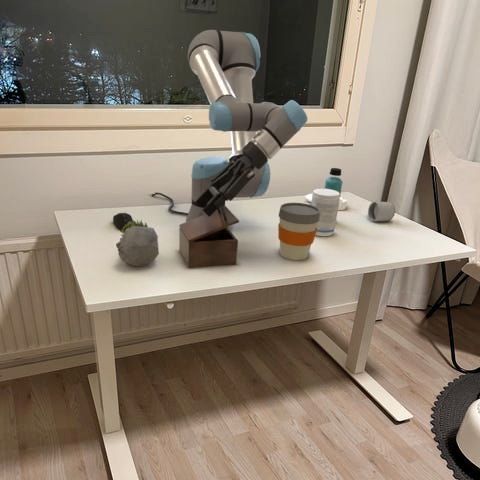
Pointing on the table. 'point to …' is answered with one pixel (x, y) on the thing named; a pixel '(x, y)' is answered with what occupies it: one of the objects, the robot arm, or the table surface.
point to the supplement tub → (326, 210)
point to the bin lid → (209, 222)
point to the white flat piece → (341, 203)
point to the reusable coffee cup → (297, 229)
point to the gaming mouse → (121, 220)
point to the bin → (209, 249)
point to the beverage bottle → (334, 180)
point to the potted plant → (138, 244)
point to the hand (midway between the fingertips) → (202, 208)
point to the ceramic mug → (381, 211)
